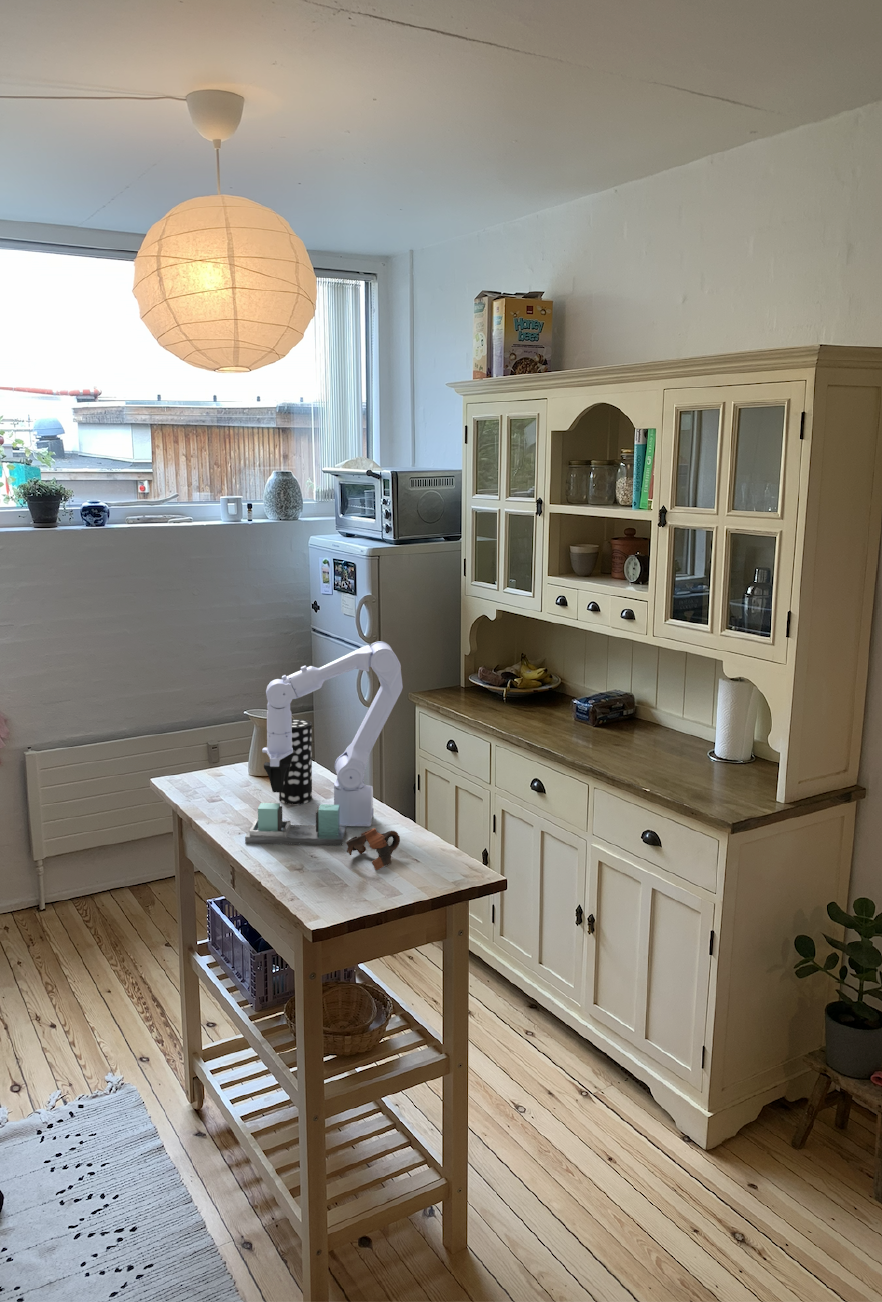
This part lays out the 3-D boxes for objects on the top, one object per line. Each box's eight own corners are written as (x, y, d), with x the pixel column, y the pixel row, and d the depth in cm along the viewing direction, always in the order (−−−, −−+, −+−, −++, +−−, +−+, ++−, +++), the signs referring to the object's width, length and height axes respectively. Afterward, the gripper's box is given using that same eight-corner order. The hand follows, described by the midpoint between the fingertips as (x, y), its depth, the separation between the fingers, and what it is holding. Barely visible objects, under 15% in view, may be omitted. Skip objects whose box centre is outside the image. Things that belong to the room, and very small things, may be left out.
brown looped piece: (366, 877, 205) (349, 841, 205) (351, 880, 213) (336, 845, 214) (413, 852, 210) (397, 817, 211) (397, 855, 219) (382, 822, 219)
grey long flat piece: (346, 831, 227) (346, 801, 226) (342, 845, 219) (342, 814, 218) (252, 829, 227) (251, 799, 226) (245, 843, 220) (244, 812, 218)
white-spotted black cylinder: (293, 807, 242) (292, 730, 238) (272, 798, 248) (271, 723, 244) (318, 799, 248) (318, 723, 244) (298, 791, 254) (297, 717, 250)
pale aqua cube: (258, 833, 221) (257, 808, 220) (261, 827, 225) (260, 803, 224) (280, 834, 221) (279, 809, 220) (282, 828, 225) (282, 803, 224)
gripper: (267, 722, 234) (268, 775, 236) (256, 739, 219) (257, 796, 222) (297, 722, 234) (297, 776, 236) (287, 740, 219) (288, 797, 222)
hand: (280, 786), depth 229 cm, fingers open, 7 cm apart
